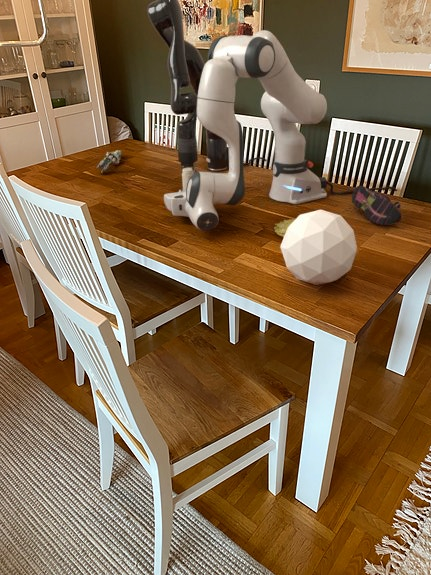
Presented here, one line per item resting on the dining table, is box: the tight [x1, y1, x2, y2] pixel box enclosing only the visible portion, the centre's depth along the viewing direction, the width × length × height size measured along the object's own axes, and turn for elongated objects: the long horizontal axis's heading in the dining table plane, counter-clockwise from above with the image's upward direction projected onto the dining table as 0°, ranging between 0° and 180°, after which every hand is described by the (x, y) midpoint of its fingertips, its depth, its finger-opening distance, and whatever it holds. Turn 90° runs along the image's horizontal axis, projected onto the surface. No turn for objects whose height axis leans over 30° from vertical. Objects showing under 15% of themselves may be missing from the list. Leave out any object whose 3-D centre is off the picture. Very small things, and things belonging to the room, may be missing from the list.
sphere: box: [279, 209, 358, 286], centre depth 117 cm, size 19×20×20 cm
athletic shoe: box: [351, 185, 403, 226], centre depth 153 cm, size 11×22×12 cm
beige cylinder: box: [181, 168, 194, 192], centre depth 163 cm, size 4×4×15 cm
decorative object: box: [273, 218, 296, 238], centre depth 145 cm, size 21×2×20 cm
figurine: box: [96, 150, 123, 174], centre depth 213 cm, size 7×8×30 cm
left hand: (189, 190), depth 180 cm, fingers closed on lid, 5 cm apart
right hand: (188, 190), depth 164 cm, fingers closed on beige cylinder, 4 cm apart
